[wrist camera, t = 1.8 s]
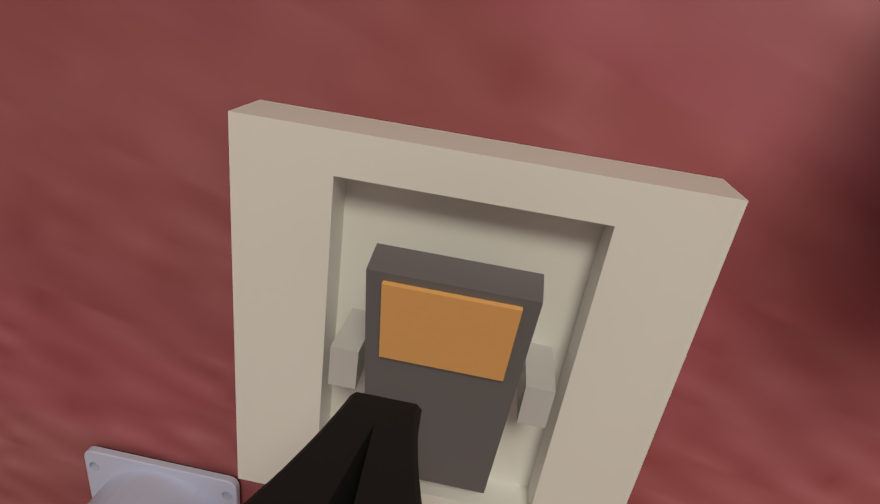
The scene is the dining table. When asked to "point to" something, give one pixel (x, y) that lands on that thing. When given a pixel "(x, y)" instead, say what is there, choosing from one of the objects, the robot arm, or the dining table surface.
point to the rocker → (449, 352)
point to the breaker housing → (477, 239)
